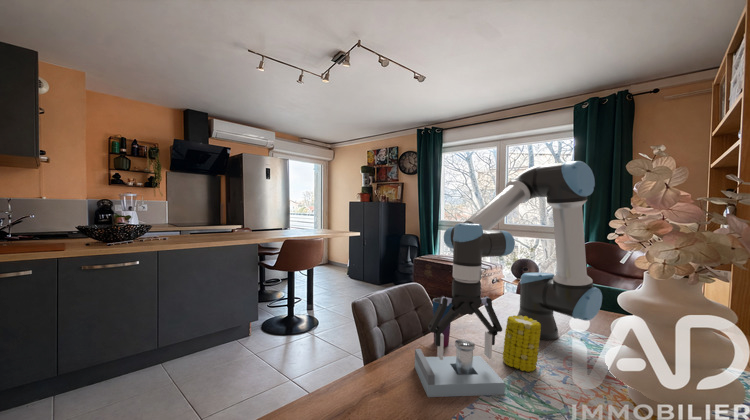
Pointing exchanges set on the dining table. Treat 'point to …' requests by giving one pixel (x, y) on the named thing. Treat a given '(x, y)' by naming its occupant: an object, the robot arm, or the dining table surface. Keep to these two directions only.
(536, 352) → the food
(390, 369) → the dining table surface
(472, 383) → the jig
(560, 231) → the robot arm
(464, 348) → the silver metal cylinder
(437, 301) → the cup
